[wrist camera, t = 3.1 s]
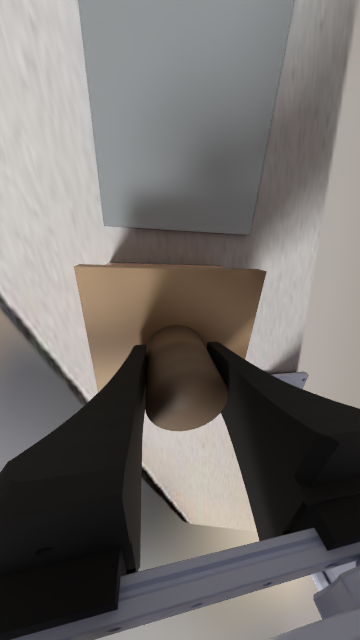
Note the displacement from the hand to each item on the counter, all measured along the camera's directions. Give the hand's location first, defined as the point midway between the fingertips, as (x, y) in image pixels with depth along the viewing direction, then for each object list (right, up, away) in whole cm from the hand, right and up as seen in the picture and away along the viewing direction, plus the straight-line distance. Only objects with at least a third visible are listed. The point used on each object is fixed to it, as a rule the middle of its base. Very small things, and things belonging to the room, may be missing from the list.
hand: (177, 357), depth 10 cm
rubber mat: (+1, +15, 0) cm, 15 cm away
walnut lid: (0, +1, +1) cm, 2 cm away
